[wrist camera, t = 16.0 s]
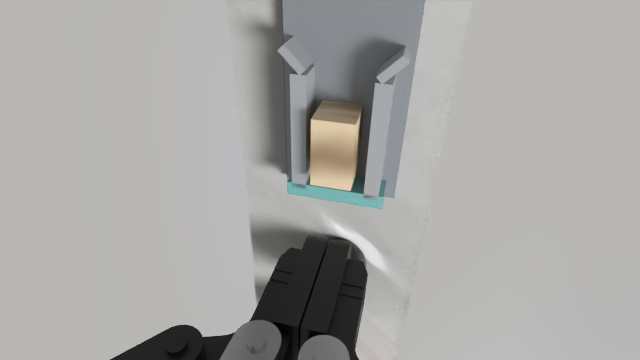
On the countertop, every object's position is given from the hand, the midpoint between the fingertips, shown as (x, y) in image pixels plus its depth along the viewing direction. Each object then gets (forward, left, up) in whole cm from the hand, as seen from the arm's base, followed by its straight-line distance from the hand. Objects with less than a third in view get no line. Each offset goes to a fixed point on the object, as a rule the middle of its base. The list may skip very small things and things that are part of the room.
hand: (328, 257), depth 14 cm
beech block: (+10, -1, -26) cm, 27 cm away
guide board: (+6, -2, -27) cm, 27 cm away
